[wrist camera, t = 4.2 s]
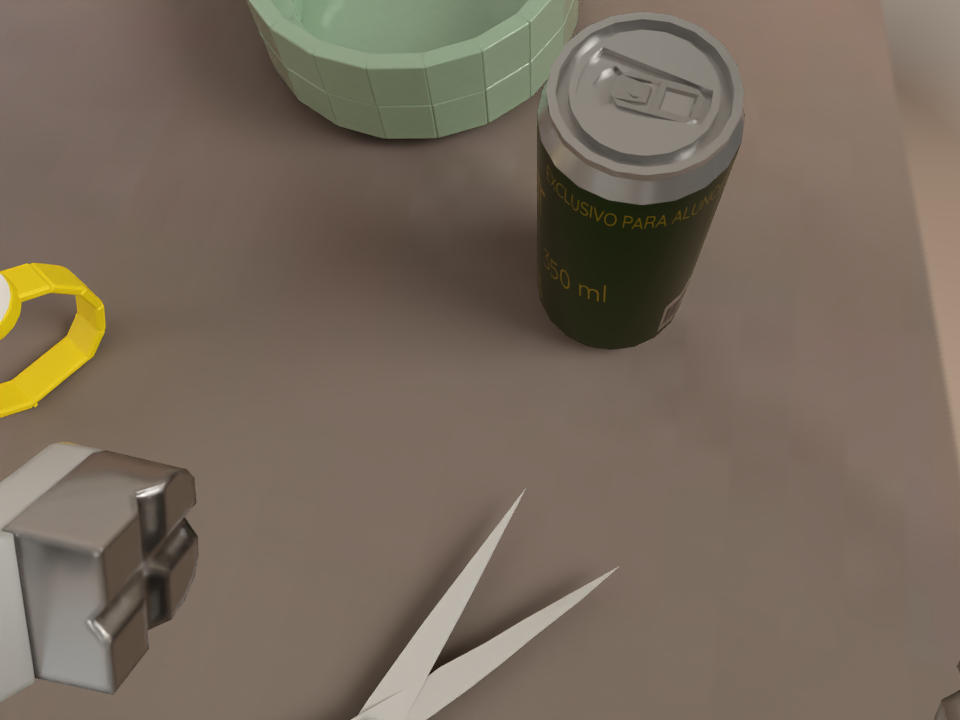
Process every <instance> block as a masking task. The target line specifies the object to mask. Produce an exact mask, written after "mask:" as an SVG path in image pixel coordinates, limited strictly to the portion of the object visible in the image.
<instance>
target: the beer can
mask: <svg viewBox="0 0 960 720" xmlns="http://www.w3.org/2000/svg"><path fill="white" fill-rule="evenodd" d="M743 96H744V88H743V84H742V80H741V76H740V72H739V69H738V65H737V64H736V62H735V61H734V59H733V58H732V56H731V55H730V54H729V52H728V51H727V49H726V48H725V46H724V45H723V44H722V43H721V42H720V41H719V40H717V39H716V38H715V37H714V36H712V35H711V34H710V33H708V32H707V31H706V30H704V29H703V28H702V27H700V26H698V25H696V24H693V23H691V22H688V21H686V20H683V19H681V18H678V17H675V16H673V15H666V14H657V13H649V12H637V13H630V14H622V15H615V16H611V17H609V18H607V19H604V20H602V21H599V22H597V23H595V24H592V25H590V26H587V27H586V28H585V29H583V30H582V31H581V32H580V33H578V34H577V35H576V36H575V37H573V38H572V39H571V40H570V41H569V42H567V43H566V44H565V46H564V47H563V49H562V50H561V52H560V53H559V55H558V56H557V58H556V60H555V61H554V63H553V64H552V66H551V70H550V75H549V80H548V81H547V83H546V84H545V86H544V87H543V90H542V94H541V99H540V104H539V108H538V113H537V275H538V287H539V294H540V301H541V303H542V305H543V307H544V309H545V311H546V312H547V314H548V316H549V318H550V320H551V321H552V322H553V323H554V324H555V325H556V326H557V327H558V328H559V329H560V330H561V331H562V332H564V333H565V334H566V335H567V336H569V337H571V338H573V339H575V340H577V341H579V342H581V343H583V344H585V345H587V346H592V347H598V348H604V349H610V350H611V349H619V348H627V347H634V346H636V345H638V344H641V343H643V342H645V341H647V340H649V339H652V338H654V337H655V336H656V335H658V334H659V333H660V332H661V331H662V330H663V329H664V328H665V327H666V326H667V325H668V324H669V323H671V321H672V319H673V317H674V315H675V313H676V312H677V310H678V308H679V306H680V304H681V302H682V299H683V296H684V294H685V291H686V288H687V286H688V283H689V280H690V278H691V275H692V272H693V270H694V267H695V264H696V262H697V259H698V256H699V254H700V251H701V248H702V246H703V243H704V240H705V238H706V235H707V232H708V230H709V227H710V224H711V222H712V219H713V216H714V214H715V211H716V209H717V206H718V203H719V201H720V198H721V195H722V193H723V190H724V187H725V185H726V182H727V179H728V177H729V174H730V171H731V169H732V166H733V163H734V161H735V158H736V155H737V153H738V150H739V147H740V145H741V141H742V133H743V125H744V117H745V114H744V110H743V106H742V104H743Z"/></svg>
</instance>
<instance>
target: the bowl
mask: <svg viewBox="0 0 960 720" xmlns="http://www.w3.org/2000/svg"><path fill="white" fill-rule="evenodd" d="M246 2H247V4H248V7H249V9H250V11H251V14H252V16H253V19H254V21H255V23H256V26H257V28H258V30H259V32H260V35H261V37H262V39H263V42H264V44H265V46H266V49H267V51H268V53H269V56H270V58H271V60H272V63H273V65H274V67H275V69H276V70H277V72H278V73H279V74H280V76H281V77H282V78H283V80H284V81H285V82H286V84H287V85H288V87H289V88H290V89H291V91H292V92H293V93H294V95H295V96H296V97H297V99H298V100H300V101H301V102H302V103H304V104H305V105H307V106H308V107H310V108H311V109H313V110H314V111H316V112H318V113H319V114H321V115H322V116H324V117H325V118H327V119H328V120H330V121H331V122H333V123H334V124H336V125H338V126H340V127H343V128H347V129H351V130H354V131H358V132H361V133H365V134H369V135H372V136H376V137H380V138H383V139H385V138H387V139H422V138H437V137H438V138H441V137H444V136H448V135H451V134H455V133H458V132H462V131H465V130H469V129H472V128H476V127H479V126H483V125H486V124H487V123H490V122H492V121H494V120H495V119H497V118H498V117H500V116H502V115H503V114H505V113H507V112H508V111H510V110H511V109H513V108H515V107H516V106H518V105H520V104H521V103H523V102H524V101H526V100H528V99H529V98H530V97H532V96H533V95H534V94H535V93H536V92H537V90H538V89H539V88H540V87H541V86H542V85H543V83H544V82H545V81H546V80H547V79H548V78H549V75H550V70H551V66H552V64H553V63H554V61H555V60H556V58H557V56H558V55H559V53H560V52H561V50H562V49H563V47H564V46H565V44H566V43H567V42H569V41H570V40H571V37H572V35H573V32H574V30H575V27H576V25H577V20H578V4H579V0H246Z"/></svg>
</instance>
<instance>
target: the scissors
mask: <svg viewBox="0 0 960 720" xmlns="http://www.w3.org/2000/svg"><path fill="white" fill-rule="evenodd" d="M525 489H526V488H525ZM524 491H525V490H524ZM524 491H523V492H522V494H521V495H520V496H519V498H518V499H517V500H516V502H515V503H514V504H513V506H512V507H511V508H510V510H509V511H508V512H507V513H506V515H505V516H504V517H503V519H502V520H501V521H500V523H499V524H498V525H497V527H496V528H495V529H494V531H493V532H492V533H491V534H490V536H489V537H488V538H487V540H486V541H485V542H484V544H483V545H482V546H481V548H480V549H479V550H478V552H477V553H476V554H475V555H474V557H473V558H472V559H471V561H470V562H469V563H468V565H467V566H466V567H465V569H464V570H463V571H462V573H461V574H460V575H459V576H458V578H457V579H456V580H455V582H454V583H453V584H452V586H451V587H450V588H449V590H448V591H447V592H446V594H445V595H444V596H443V598H442V599H441V600H440V601H439V603H438V604H437V605H436V607H435V608H434V609H433V611H432V612H431V613H430V615H429V616H428V617H427V619H426V620H425V621H424V623H423V624H422V625H421V627H420V628H419V629H418V631H417V632H416V633H415V635H414V636H413V638H412V639H411V640H410V642H409V643H408V645H407V646H406V647H405V649H404V650H403V652H402V653H401V654H400V656H399V657H398V659H397V660H396V661H395V663H394V664H393V666H392V667H391V668H390V670H389V671H388V672H387V674H386V675H385V677H384V678H383V679H382V681H381V682H380V684H379V685H378V686H377V688H376V689H375V691H374V692H373V693H372V695H371V696H370V698H369V699H368V701H367V702H366V704H365V705H364V707H363V708H362V710H361V711H360V713H359V714H358V716H356V717H355V718H353V719H351V720H427V719H428V718H430V717H431V716H432V715H434V714H435V713H436V712H438V711H439V710H441V709H442V708H443V707H445V706H446V705H448V704H449V703H450V702H452V701H453V700H454V699H456V698H457V697H459V696H460V695H461V694H463V693H464V692H466V691H467V690H468V689H469V688H471V687H472V686H473V685H475V684H476V683H477V682H478V681H480V680H481V679H482V678H484V677H485V676H486V675H487V674H489V673H490V672H491V671H493V670H494V669H495V668H496V667H498V666H499V665H500V664H502V663H503V662H504V661H505V660H506V659H508V658H509V657H510V656H511V655H513V654H514V653H515V652H516V651H517V650H519V649H520V648H521V647H522V646H523V645H525V644H526V643H527V642H528V641H530V640H531V639H532V638H533V637H534V636H536V635H537V634H538V633H539V632H541V631H542V630H543V629H545V628H546V627H547V626H548V625H550V624H551V623H552V622H553V621H555V620H556V619H557V618H559V617H560V616H561V615H562V614H564V613H565V612H566V611H567V610H569V609H570V608H571V607H573V606H574V605H575V604H576V603H578V602H579V601H580V600H581V599H583V598H584V597H585V596H586V595H587V594H588V593H589V592H591V591H592V590H593V589H594V588H595V587H596V586H598V585H599V584H600V583H601V582H602V581H603V580H604V579H606V578H607V577H608V576H609V575H610V574H611V573H612V572H614V571H615V570H616V569H617V568H618V567H617V568H615V569H614V570H612V571H610V572H608V573H606V574H605V575H603V576H601V577H599V578H598V579H596V580H594V581H592V582H590V583H589V584H587V585H585V586H583V587H581V588H580V589H578V590H576V591H574V592H572V593H571V594H569V595H567V596H565V597H564V598H562V599H560V600H558V601H556V602H555V603H553V604H551V605H549V606H547V607H546V608H544V609H542V610H540V611H539V612H537V613H535V614H533V615H531V616H530V617H528V618H526V619H524V620H522V621H521V622H519V623H517V624H516V625H514V626H512V627H511V628H509V629H508V630H506V631H504V632H503V633H501V634H499V635H498V636H496V637H494V638H493V639H491V640H489V641H488V642H486V643H484V644H482V645H481V646H479V647H477V648H475V649H473V650H471V651H469V652H467V653H465V654H464V655H462V656H460V657H458V658H456V659H454V660H452V661H450V662H449V663H447V664H445V665H443V666H441V667H439V668H438V669H437V670H435V671H434V672H433V673H431V674H430V675H429V676H428V674H429V673H430V671H431V669H432V667H433V665H434V663H435V661H436V660H437V658H438V656H439V654H440V652H441V650H442V648H443V647H444V645H445V643H446V641H447V639H448V637H449V635H450V634H451V632H452V630H453V628H454V626H455V624H456V622H457V621H458V619H459V617H460V615H461V613H462V611H463V609H464V608H465V606H466V604H467V602H468V600H469V598H470V596H471V594H472V592H473V590H474V588H475V586H476V584H477V582H478V580H479V578H480V577H481V575H482V573H483V571H484V569H485V567H486V565H487V563H488V561H489V559H490V557H491V555H492V553H493V551H494V549H495V547H496V545H497V544H498V542H499V540H500V538H501V536H502V534H503V532H504V530H505V528H506V526H507V524H508V522H509V520H510V518H511V516H512V514H513V512H514V510H515V509H516V507H517V505H518V503H519V501H520V499H521V497H522V495H523V493H524Z"/></svg>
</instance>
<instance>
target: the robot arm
mask: <svg viewBox="0 0 960 720" xmlns="http://www.w3.org/2000/svg"><path fill="white" fill-rule="evenodd" d="M195 504H196V492H195V480H194V477H193V476H192V475H191V474H190V473H189V471H188V470H187V469H183V468H179V467H175V466H171V465H166V464H162V463H158V462H153V461H149V460H145V459H141V458H136V457H132V456H128V455H123V454H119V453H115V452H111V451H106V450H105V451H102V450H100V449H97V448H92V447H87V446H83V445H78V444H73V443H68V442H59V443H51V444H50V445H49V446H47V447H46V448H45V449H44V450H42V451H41V452H40V453H38V454H37V455H36V456H34V457H33V458H32V459H30V460H29V461H28V462H27V463H25V464H24V465H23V466H21V467H20V468H19V469H17V470H16V471H15V472H14V473H12V474H11V475H10V476H8V477H7V478H6V479H4V480H3V481H2V482H1V483H0V702H2V701H4V700H5V699H7V698H9V697H11V696H12V695H14V694H16V693H18V692H20V691H21V690H23V689H25V688H27V687H28V686H30V685H32V684H34V683H35V678H38V679H42V680H47V681H51V682H56V683H61V684H65V685H70V686H75V687H79V688H84V689H88V690H93V691H98V692H102V693H107V694H111V695H114V693H115V692H116V691H117V689H118V688H119V687H120V686H121V684H122V683H123V682H124V680H125V679H126V678H127V676H128V675H129V674H130V673H131V671H132V670H133V669H134V667H135V666H136V665H137V663H138V662H139V661H140V660H141V658H142V657H143V656H144V654H145V653H146V652H147V650H148V649H149V643H148V630H149V629H152V628H154V627H156V626H158V625H160V624H162V623H165V622H167V621H169V620H171V619H172V617H173V616H174V615H175V613H176V612H177V611H178V609H179V608H180V606H181V605H182V604H183V602H184V601H185V599H186V596H187V594H188V591H189V589H190V586H191V584H192V582H193V579H194V577H195V572H196V566H197V560H198V536H197V535H196V533H195V532H194V530H193V529H192V527H191V526H190V525H189V523H188V522H187V520H186V519H185V516H186V515H187V513H188V512H189V511H190V510H191V509H192V508H193V506H194V505H195ZM957 667H958V670H959V672H960V661H959V663H958V665H957ZM934 720H960V690H959V691H957V692H955V693H953V694H952V695H950V696H948V697H946V698H944V699H942V700H941V703H940V705H939V708H938V710H937V713H936V715H935V718H934Z"/></svg>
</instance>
